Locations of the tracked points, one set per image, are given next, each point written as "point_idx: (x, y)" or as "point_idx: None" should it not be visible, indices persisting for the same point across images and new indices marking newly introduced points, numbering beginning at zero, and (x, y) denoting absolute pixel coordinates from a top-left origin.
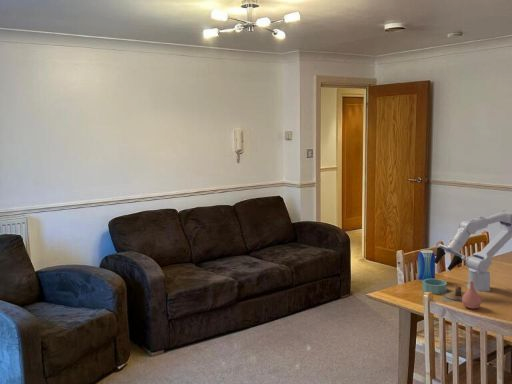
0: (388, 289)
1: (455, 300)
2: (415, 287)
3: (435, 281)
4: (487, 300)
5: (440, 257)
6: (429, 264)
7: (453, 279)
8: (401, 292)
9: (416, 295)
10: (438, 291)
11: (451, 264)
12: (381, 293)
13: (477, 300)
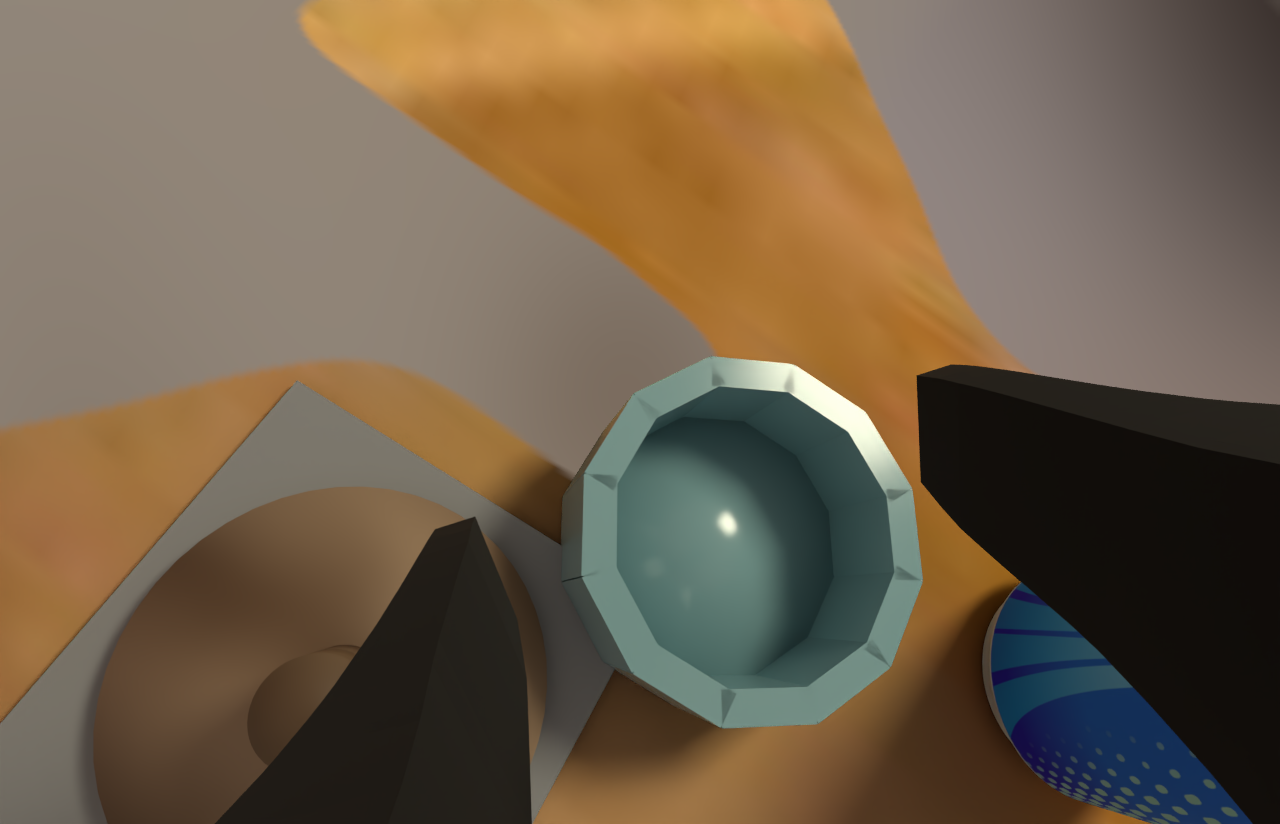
0: (884, 140)
1: (216, 536)
2: (880, 414)
3: (852, 628)
4: None
5: (1117, 612)
6: None
7: None
8: (773, 186)
9: (640, 256)
10: (571, 490)
11: (381, 627)
12: (798, 23)
13: None
